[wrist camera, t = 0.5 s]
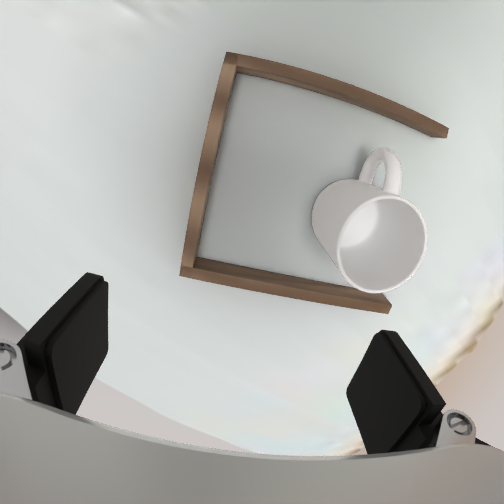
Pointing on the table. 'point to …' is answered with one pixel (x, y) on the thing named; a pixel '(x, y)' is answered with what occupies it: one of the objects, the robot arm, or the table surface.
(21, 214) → the table surface
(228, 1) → the table surface
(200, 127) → the table surface
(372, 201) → the mug
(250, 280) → the open wooden rail frame
